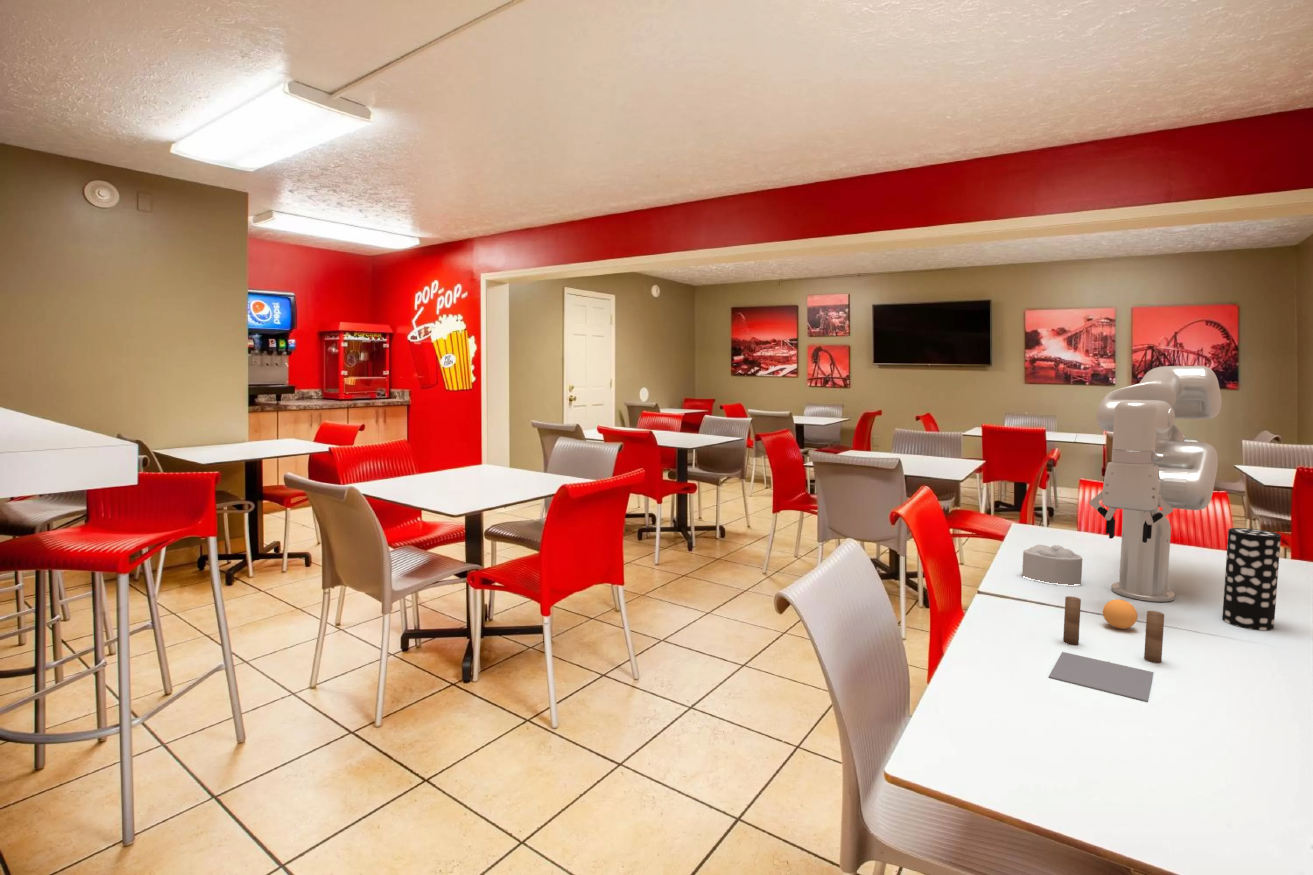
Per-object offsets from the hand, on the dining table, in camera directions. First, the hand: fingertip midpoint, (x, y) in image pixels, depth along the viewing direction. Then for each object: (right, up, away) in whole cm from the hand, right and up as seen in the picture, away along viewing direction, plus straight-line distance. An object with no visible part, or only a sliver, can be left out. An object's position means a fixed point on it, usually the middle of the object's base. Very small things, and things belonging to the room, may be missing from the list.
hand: (1128, 538), depth 145 cm
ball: (-6, -15, -6) cm, 17 cm away
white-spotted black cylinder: (+24, -18, -3) cm, 30 cm away
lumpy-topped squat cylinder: (+1, -16, +29) cm, 33 cm away
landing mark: (-25, -20, -29) cm, 43 cm away
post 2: (-11, -19, -22) cm, 32 cm away
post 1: (-21, -19, -14) cm, 32 cm away
